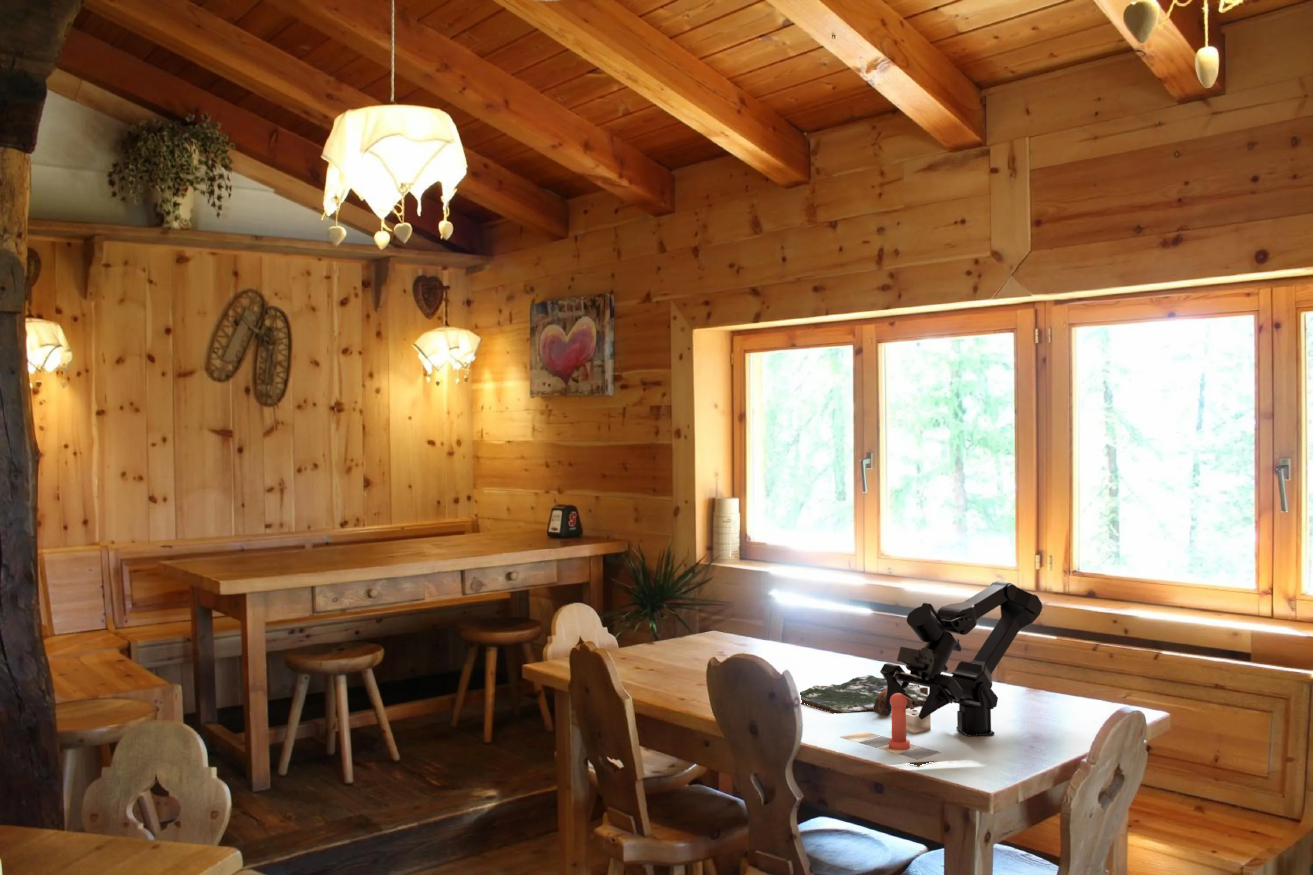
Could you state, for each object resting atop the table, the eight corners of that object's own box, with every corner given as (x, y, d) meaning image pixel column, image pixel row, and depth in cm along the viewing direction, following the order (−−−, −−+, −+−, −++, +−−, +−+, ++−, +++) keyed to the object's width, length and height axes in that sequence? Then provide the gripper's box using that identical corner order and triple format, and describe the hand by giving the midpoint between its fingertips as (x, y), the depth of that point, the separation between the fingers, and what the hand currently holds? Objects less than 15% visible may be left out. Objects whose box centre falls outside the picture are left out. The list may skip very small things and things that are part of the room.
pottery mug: (875, 711, 258) (891, 683, 258) (907, 733, 253) (924, 704, 253) (860, 710, 248) (877, 680, 248) (894, 732, 243) (911, 702, 243)
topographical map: (786, 700, 271) (786, 689, 271) (878, 683, 288) (878, 673, 288) (855, 722, 249) (854, 709, 249) (950, 702, 266) (950, 690, 266)
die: (915, 730, 239) (915, 708, 239) (930, 735, 235) (930, 713, 235) (898, 733, 237) (898, 711, 237) (913, 738, 232) (913, 716, 233)
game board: (835, 742, 230) (835, 736, 230) (862, 735, 236) (862, 729, 236) (918, 766, 212) (918, 760, 212) (946, 758, 217) (946, 752, 217)
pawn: (899, 742, 225) (898, 689, 225) (914, 747, 221) (913, 693, 221) (884, 746, 222) (883, 692, 222) (898, 751, 219) (897, 696, 219)
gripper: (884, 626, 233) (851, 683, 227) (952, 638, 218) (919, 699, 212) (908, 657, 238) (877, 713, 231) (976, 670, 223) (945, 731, 216)
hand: (903, 713), depth 222 cm, fingers open, 9 cm apart
